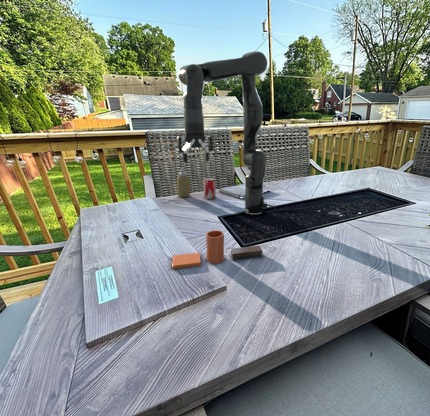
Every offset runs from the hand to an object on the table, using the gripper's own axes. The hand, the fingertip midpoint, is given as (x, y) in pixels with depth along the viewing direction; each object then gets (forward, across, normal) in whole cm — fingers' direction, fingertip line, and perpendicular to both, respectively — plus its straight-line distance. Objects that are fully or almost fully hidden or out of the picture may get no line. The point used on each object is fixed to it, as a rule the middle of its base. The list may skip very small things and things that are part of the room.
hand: (196, 162), depth 109 cm
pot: (+30, -4, -30) cm, 42 cm away
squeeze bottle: (+30, +6, +49) cm, 58 cm away
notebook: (+30, +46, +43) cm, 70 cm away
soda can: (+30, +19, +40) cm, 53 cm away
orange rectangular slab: (+30, -14, -27) cm, 42 cm away
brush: (+30, +6, -33) cm, 45 cm away
